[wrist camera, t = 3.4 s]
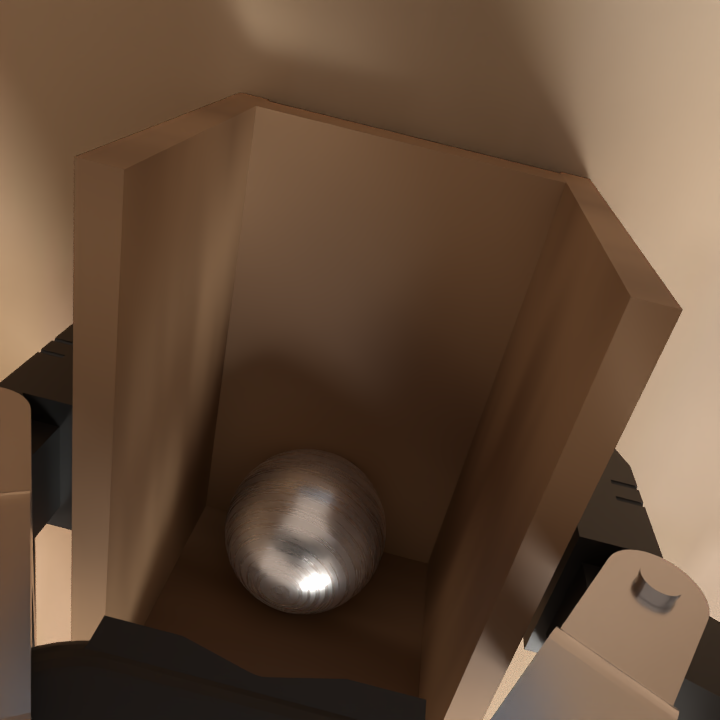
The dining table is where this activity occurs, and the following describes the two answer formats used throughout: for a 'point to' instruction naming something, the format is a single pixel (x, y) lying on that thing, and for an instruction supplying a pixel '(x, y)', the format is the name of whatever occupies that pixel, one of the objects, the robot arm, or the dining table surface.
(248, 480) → the ball
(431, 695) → the channel
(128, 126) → the dining table surface
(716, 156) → the dining table surface
